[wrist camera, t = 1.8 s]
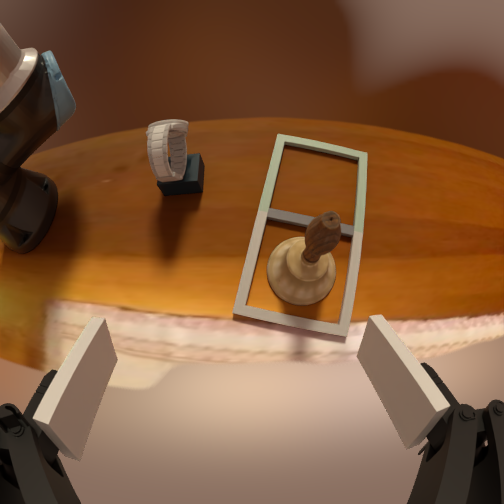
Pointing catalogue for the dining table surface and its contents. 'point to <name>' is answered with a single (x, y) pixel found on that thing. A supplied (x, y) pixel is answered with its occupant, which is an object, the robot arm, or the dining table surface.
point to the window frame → (304, 221)
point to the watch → (174, 159)
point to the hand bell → (306, 262)
